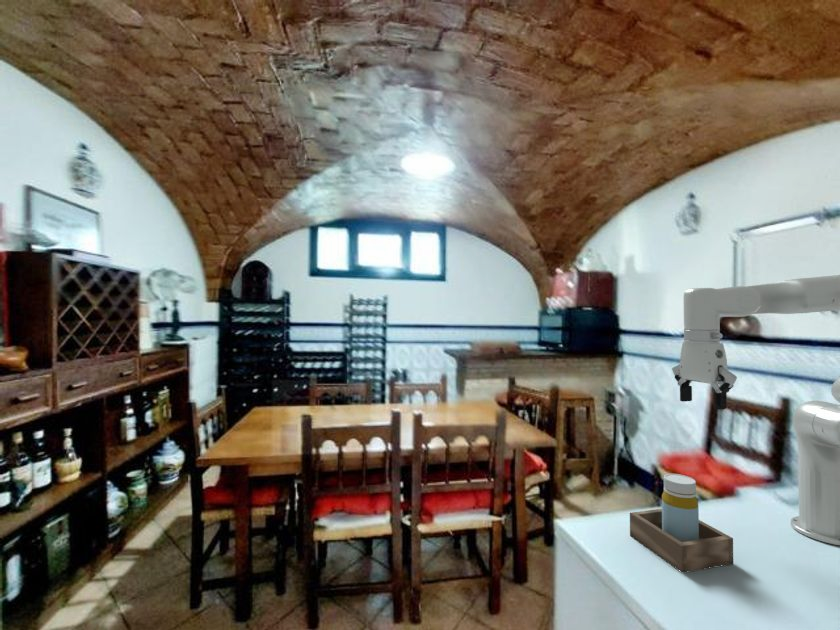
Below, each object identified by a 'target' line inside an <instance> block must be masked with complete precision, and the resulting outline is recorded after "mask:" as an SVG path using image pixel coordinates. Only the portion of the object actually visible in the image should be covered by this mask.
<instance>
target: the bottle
mask: <svg viewBox="0 0 840 630" xmlns="http://www.w3.org/2000/svg"><path fill="white" fill-rule="evenodd" d="M696 494H697V482H696V480H695V479H694V478H693V477H690V476H687V475H684V474H678V473H667V474H664V475H663V492H662V494H661V509H662V530H663V531H665V532H666V533H668V534H669V535H671V536H673V537H674V538H676V539H677V540H679V541H681V542H687V541H694V540H699V520H700V519H699V518H700V517H699V516H700V513H699V501H698V499H697V496H696Z"/></svg>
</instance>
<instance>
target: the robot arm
mask: <svg viewBox="0 0 840 630" xmlns="http://www.w3.org/2000/svg"><path fill="white" fill-rule="evenodd" d="M833 311H840V274H835V275H826V276H823V275H822V276H814V277H803V278H800V277H799V278H794V279H793V278H792V279H785V280H780V281H776V282H769V283H764V284H757V285H756V284H755V285H747V286H743V285H739V286H738V285H737V286H731V287H730V286H729V287H723V288H714V287H713V288H712V287H696V288H695V287H694V288H689V289H686V290H685V291H684V293H683V341H682V343H681V349H680V350H681V351H680V358H679V364H678V365H676V366H674V367H672V368H671V370H672V373H673V375H674V379H675V380H676V382H677V385H678V386H679V401H680V402H683V403H685V402H692V401H693V386H692V385H691V384H692V382H697V383H702V384H709V385H711V387H712V388H713V390H714V392H713V394H712V395H713V401H712V402H713V409H714V410H725V409H727V402H728V401H727V393H728V394H729V392H730V390H731V389H732V388H734V385H735V383H736V381H737V379H738V377H737V375H735V374H734V373H732V372H731V371H729V369H728V360H727V353H726V349H725V346H724V343H722V342H721V339H723V334H722V333H721V332H720V331H721V328H720V327H721V326H720V324H721V322H720V319H721V318H728V317H729V318H744V317H749V316H751V315H759V314H777V315H795V314H808V313H818V312H819V313H820V312H833ZM830 392H831V396H832V397H833V398H834V400H835V401H837V402H838V403H840V376H838V377H837V378H836V379H835V381H834V382H833V383H832V386H831V389H830ZM792 424H793V429H794V433H795V437H796V442H797V443H796V444H797V454H798V455H797V456H798V457H797V459H798V460H797V461H798V465H797V466H798V469H797V470H798V477H797V478H798V516H794V517H792V518H791V519H790V525H791V528H793V529H794V530H795V531H797V533H800V534H802V535H804V536H806V537H808V538H811V539H813V540H816V541H820V542H823V543H826V544H830V545H835V546H840V404H837V403H832V402H828V401H822V400H808V401H804V402H803V403H801V404H800V405H798V406H797V407H796V408H795V410H794V412H793V416H792Z"/></svg>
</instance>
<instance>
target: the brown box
mask: <svg viewBox="0 0 840 630" xmlns="http://www.w3.org/2000/svg"><path fill="white" fill-rule="evenodd" d="M629 536H630V537H631V538H632V539H634V540H635V541H637V542H638V543H639V544H641V545H642V544H643V546H644V547H645V546H646V547H645V548H647V549H648V548H649V549H650V550H649V549H648V550H649V551H651V552H652V551H653V552H654V553H653V552H652V553H653V554H655V553H656V554H657V555H656V554H655V555H656V556H658V557H659V556H660V557H661V558H660V557H659V558H660V559H662V560H663V559H664V561H665V562H666V563H667V564H668V565H670V564H671V565H670V566H672V567H673V566H674V567H676V568H677V569H678V570H677V569H676V568H675V569H676V570H677V571H679V570H680V571H681V572H685V573H688V572H687V571H691V572H695V571H694V570H697V571H700V570H699V569H703V570H705V569H704V568H708V569H710V568H709V567H714V566H720V567H722V566H721V565H726V566H729V565H728V564H732V565H734V537H732V536H730V535H728V534H726V533H724V532H722V531H720V530H719V529H717V528H714V527H713V526H711V525H710V524H707V523H706V522H704V521H702V520H700V519H699V540H694V541H687V542H681V541H679V540H677V539H676V538H674V537H673V536H671V535H669V534H668V533H666V532H665V531H663V530H662V508H657V509H648V510H640V511H633V512H629ZM674 567H673V568H674ZM714 568H715V567H714ZM680 571H679V572H680ZM681 572H680V573H681Z"/></svg>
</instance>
